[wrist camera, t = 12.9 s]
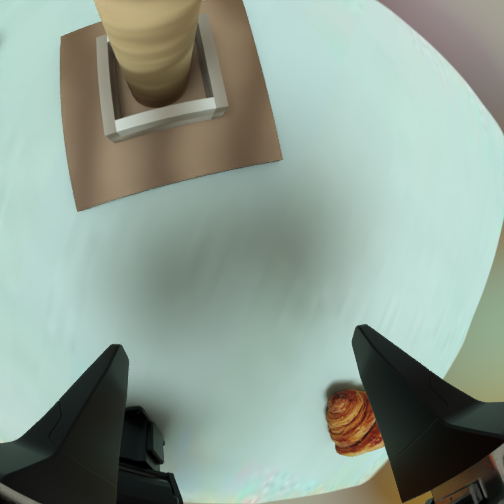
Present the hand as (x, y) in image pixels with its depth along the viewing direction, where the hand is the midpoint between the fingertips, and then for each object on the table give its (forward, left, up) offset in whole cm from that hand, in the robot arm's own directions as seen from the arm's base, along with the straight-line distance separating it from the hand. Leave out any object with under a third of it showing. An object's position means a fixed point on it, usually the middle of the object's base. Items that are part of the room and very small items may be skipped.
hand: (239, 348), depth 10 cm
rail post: (0, +14, -12) cm, 19 cm away
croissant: (+14, -27, -13) cm, 33 cm away
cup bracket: (0, +15, -13) cm, 19 cm away
